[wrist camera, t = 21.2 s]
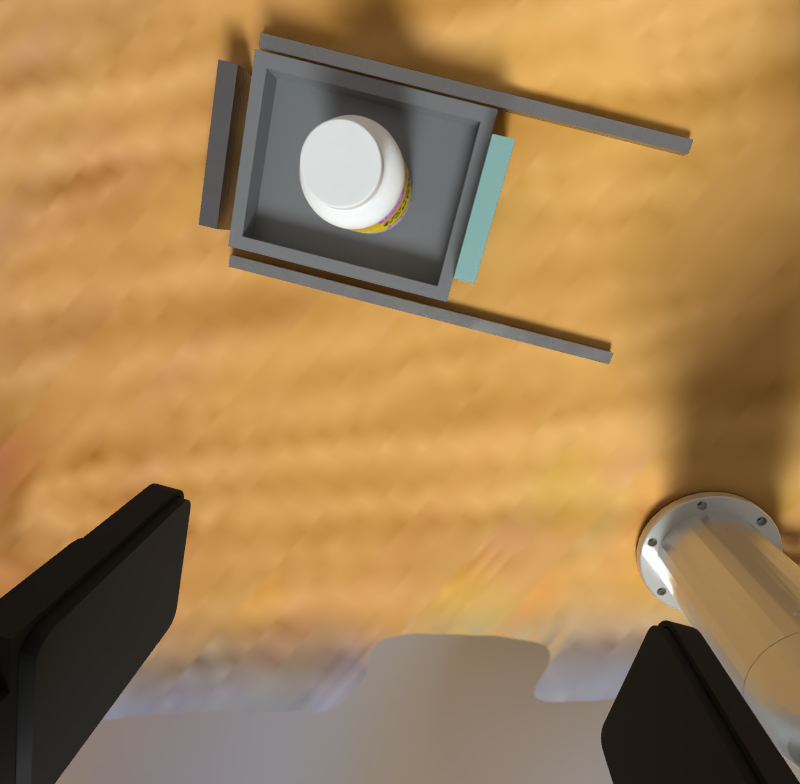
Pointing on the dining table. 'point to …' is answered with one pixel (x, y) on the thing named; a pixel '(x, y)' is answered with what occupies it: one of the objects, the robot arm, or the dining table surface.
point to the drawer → (422, 152)
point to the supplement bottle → (355, 175)
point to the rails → (237, 85)
